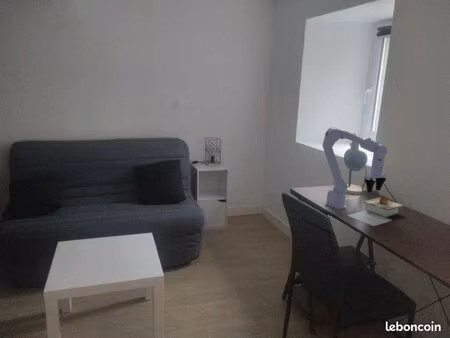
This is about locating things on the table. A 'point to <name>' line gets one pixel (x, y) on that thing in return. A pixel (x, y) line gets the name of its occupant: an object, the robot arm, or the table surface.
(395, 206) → the lid
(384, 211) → the open box
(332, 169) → the robot arm
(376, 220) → the mat
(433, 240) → the table surface
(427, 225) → the table surface
